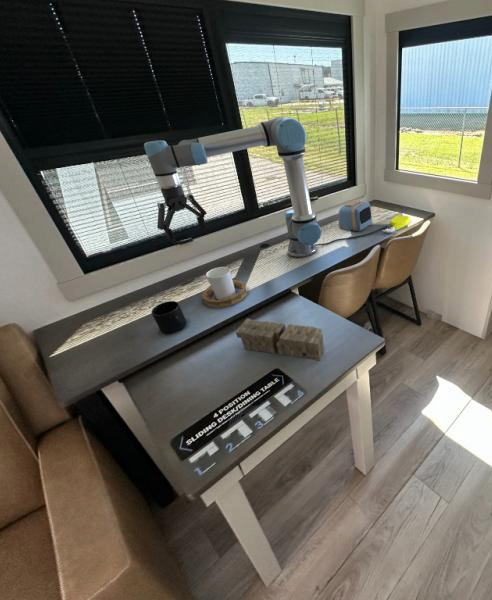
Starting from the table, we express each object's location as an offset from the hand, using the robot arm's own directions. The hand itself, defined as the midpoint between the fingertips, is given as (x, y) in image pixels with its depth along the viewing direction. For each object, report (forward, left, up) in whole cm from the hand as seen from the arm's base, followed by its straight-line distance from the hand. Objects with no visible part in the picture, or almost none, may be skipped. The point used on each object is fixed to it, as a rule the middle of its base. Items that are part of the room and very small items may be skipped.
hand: (189, 238), depth 132 cm
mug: (+11, +27, -25) cm, 38 cm away
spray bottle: (-110, -27, -25) cm, 116 cm away
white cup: (-8, +11, -25) cm, 28 cm away
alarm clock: (-88, -40, -25) cm, 100 cm away
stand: (-8, +11, -25) cm, 28 cm away
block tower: (-26, +55, -25) cm, 66 cm away
